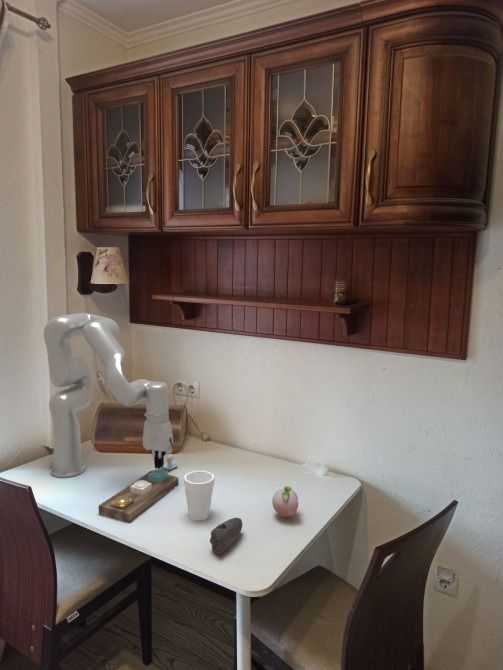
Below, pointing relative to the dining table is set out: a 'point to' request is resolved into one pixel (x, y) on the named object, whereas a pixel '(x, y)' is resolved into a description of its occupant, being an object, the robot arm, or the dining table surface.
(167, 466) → the pacifier
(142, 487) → the cream button
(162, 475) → the teal button
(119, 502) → the brass button
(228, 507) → the dining table surface
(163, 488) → the button panel
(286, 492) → the decorative fruit
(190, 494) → the foam cup
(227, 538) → the perforated stone tool
